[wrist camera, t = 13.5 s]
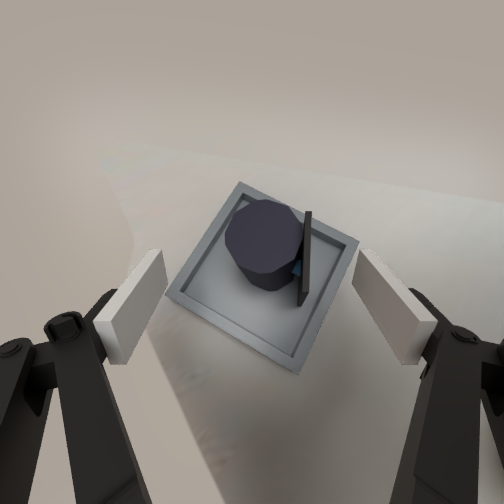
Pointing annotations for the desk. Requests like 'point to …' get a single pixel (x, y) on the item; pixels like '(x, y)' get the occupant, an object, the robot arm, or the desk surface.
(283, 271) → the dark cylinder with plate
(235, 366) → the desk surface
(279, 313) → the tray
